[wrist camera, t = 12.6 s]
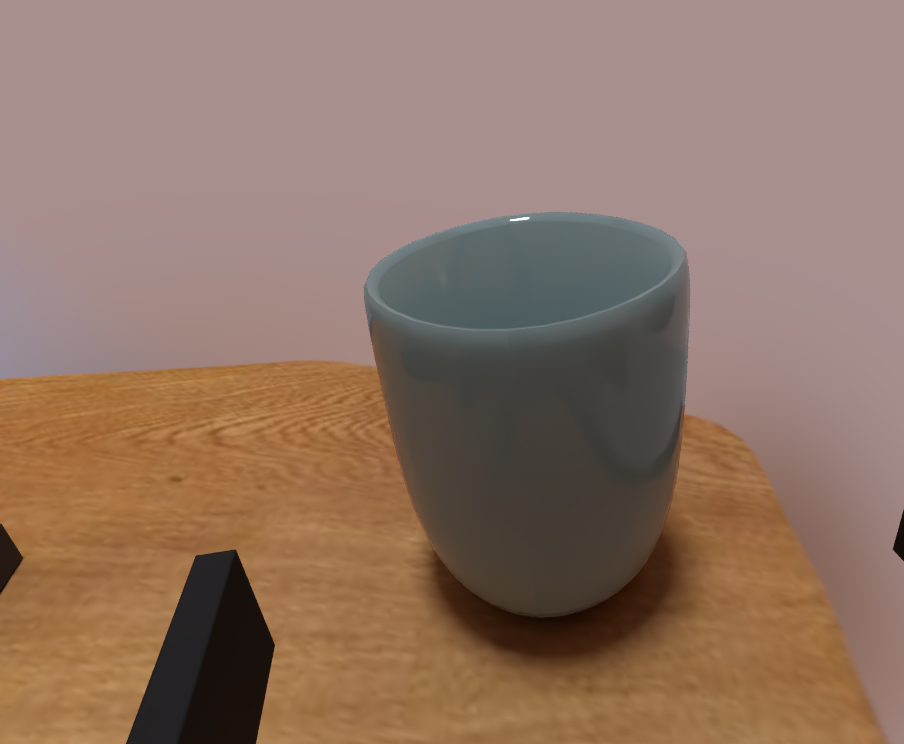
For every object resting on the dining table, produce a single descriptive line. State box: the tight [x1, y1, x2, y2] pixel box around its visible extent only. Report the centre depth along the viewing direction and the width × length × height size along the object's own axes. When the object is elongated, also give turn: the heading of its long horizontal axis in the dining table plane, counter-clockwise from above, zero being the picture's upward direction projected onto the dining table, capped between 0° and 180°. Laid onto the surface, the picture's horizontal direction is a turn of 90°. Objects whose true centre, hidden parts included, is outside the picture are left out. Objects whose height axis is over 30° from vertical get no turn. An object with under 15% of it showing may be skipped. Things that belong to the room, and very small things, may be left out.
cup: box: [364, 212, 690, 618], centre depth 18 cm, size 8×8×10 cm
